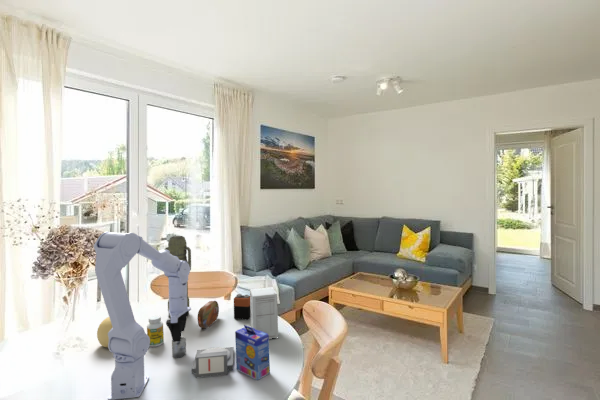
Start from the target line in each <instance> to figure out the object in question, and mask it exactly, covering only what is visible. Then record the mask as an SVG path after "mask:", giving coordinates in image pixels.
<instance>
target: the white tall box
mask: <svg viewBox="0 0 600 400" xmlns="http://www.w3.org/2000/svg"><path fill="white" fill-rule="evenodd" d="M249 296H250V310H251V317H250V327H252V328H255V330H259V331H262V332H265V333H267V334H268V335H269V340H273V339H272V338H276V339H278V338H279V317H278V315H279V313H278V293H277V291H276V290H275V289H274V287H273V286H271V287H262V288H251V289H249ZM277 337H278V338H277Z"/></svg>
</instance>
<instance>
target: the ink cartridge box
mask: <svg viewBox="0 0 600 400" xmlns="http://www.w3.org/2000/svg"><path fill="white" fill-rule="evenodd" d="M243 326H244V327H241V328H240V329H237V330H235V331H234V335H235V336H234V337H235V340H234V341H235V364H236V365H235V366H236V369H235V370H237V371H238V372H241V373H243V374H244V375H246V376H248V377H250V378H251V379H254V380H255V381H260V380H261V379H262V377H263V378H264V377H266V376H268V375H270V373H271V368H270V367H271V366H270V339H269V335H268V334H267V333H265V332H262V331H259V330H255V328H252V327H251V326H249V325H245V324H244V325H243ZM267 374H268V375H267ZM265 375H266V376H265Z"/></svg>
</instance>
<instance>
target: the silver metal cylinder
mask: <svg viewBox="0 0 600 400" xmlns="http://www.w3.org/2000/svg"><path fill="white" fill-rule="evenodd" d="M171 353H172V355H171V357H172V358H174V359H180V358H184V357H186V355H187V338H186V337H183V336H181V339H180V341H177V342H173V339H171Z"/></svg>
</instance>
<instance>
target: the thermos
mask: <svg viewBox="0 0 600 400" xmlns="http://www.w3.org/2000/svg"><path fill="white" fill-rule="evenodd" d="M164 250H169V251H170V254H172V255H173V256H177V257H178V259H179V260H183V261H186V262H187V263H188V264H189V267H190V271H192V249H191V248H190V246H187V240H186V237H185V236H183V235H173V236H171V237H169V240H168V244H167V247H165V248H164ZM166 277H167V278H168V276H166ZM188 285H189V283H188V282H187V307H190V297H189V296H188V295H189V286H188ZM167 312H168V315H167V317H168V319H169V320H171V316H170V314H169V299H168V300H167ZM189 315H190V312H189V313H188V315H187V317H189Z"/></svg>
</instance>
